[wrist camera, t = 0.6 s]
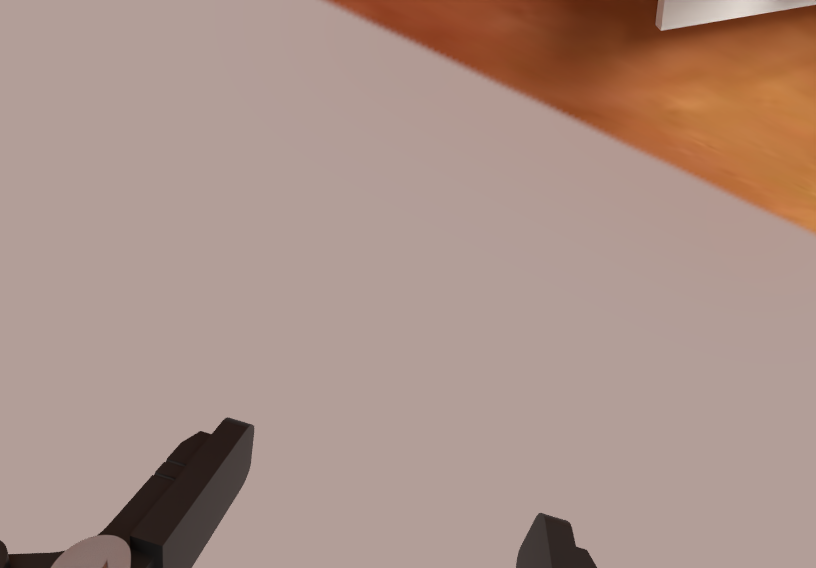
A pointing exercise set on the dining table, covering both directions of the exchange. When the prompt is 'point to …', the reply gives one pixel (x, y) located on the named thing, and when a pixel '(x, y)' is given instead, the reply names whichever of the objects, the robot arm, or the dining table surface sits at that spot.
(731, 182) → the dining table surface
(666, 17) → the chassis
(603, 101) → the dining table surface
